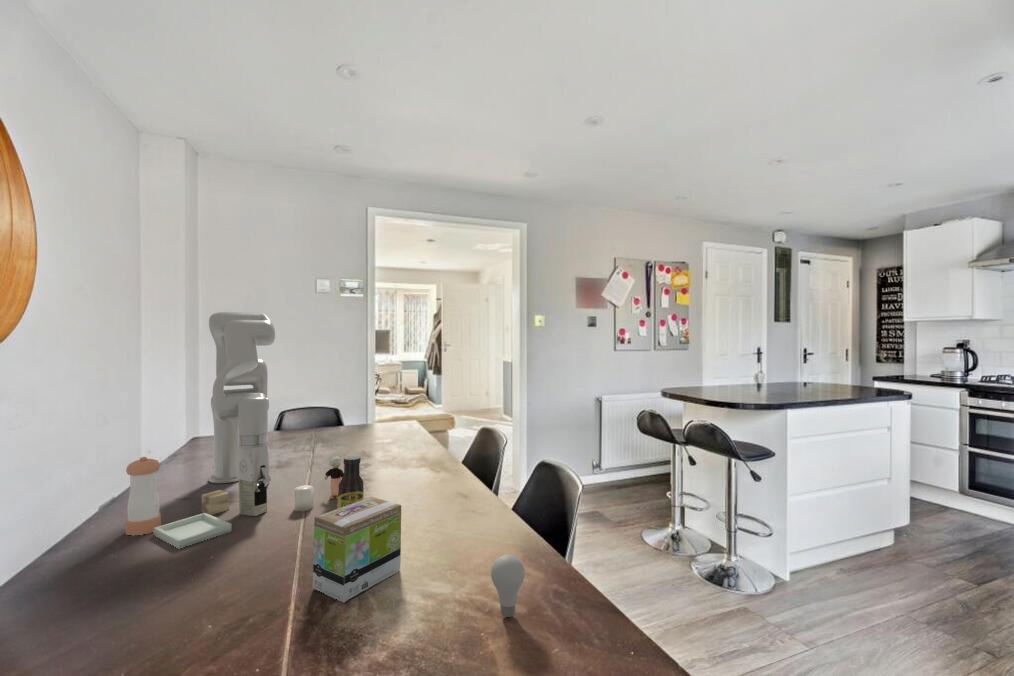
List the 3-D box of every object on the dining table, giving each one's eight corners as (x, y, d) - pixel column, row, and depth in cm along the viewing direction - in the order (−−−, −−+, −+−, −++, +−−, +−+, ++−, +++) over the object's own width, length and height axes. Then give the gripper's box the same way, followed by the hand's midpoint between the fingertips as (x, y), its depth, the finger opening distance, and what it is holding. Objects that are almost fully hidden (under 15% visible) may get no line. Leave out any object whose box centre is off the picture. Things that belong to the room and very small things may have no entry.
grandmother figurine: (350, 495, 147) (349, 455, 147) (344, 499, 144) (344, 458, 144) (326, 494, 148) (326, 455, 148) (320, 498, 144) (320, 458, 144)
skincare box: (268, 511, 134) (267, 469, 134) (255, 517, 130) (255, 473, 130) (250, 508, 136) (250, 467, 136) (238, 514, 132) (237, 471, 132)
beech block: (201, 511, 134) (201, 494, 134) (220, 506, 138) (220, 489, 138) (210, 515, 131) (210, 497, 131) (228, 509, 136) (228, 492, 136)
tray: (153, 535, 118) (153, 527, 118) (205, 519, 128) (205, 512, 128) (178, 549, 110) (178, 541, 110) (231, 531, 120) (231, 523, 120)
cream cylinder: (290, 509, 136) (290, 488, 136) (306, 504, 140) (306, 484, 140) (301, 512, 133) (301, 491, 133) (316, 507, 137) (316, 487, 137)
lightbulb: (490, 608, 87) (490, 549, 87) (522, 606, 87) (522, 547, 87) (491, 628, 81) (491, 565, 81) (526, 626, 81) (526, 563, 81)
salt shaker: (167, 527, 123) (166, 455, 123) (135, 538, 116) (135, 462, 116) (151, 522, 126) (150, 452, 126) (119, 533, 119) (119, 458, 119)
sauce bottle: (338, 543, 114) (338, 462, 113) (335, 533, 119) (334, 456, 119) (365, 537, 117) (365, 459, 116) (361, 528, 122) (361, 453, 122)
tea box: (345, 605, 88) (344, 527, 88) (311, 589, 93) (311, 516, 93) (402, 571, 100) (402, 502, 100) (370, 559, 106) (370, 494, 106)
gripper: (223, 438, 135) (223, 500, 135) (256, 446, 125) (256, 512, 125) (249, 434, 141) (249, 492, 141) (283, 441, 131) (283, 503, 132)
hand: (253, 501), depth 133 cm, fingers closed on skincare box, 6 cm apart
